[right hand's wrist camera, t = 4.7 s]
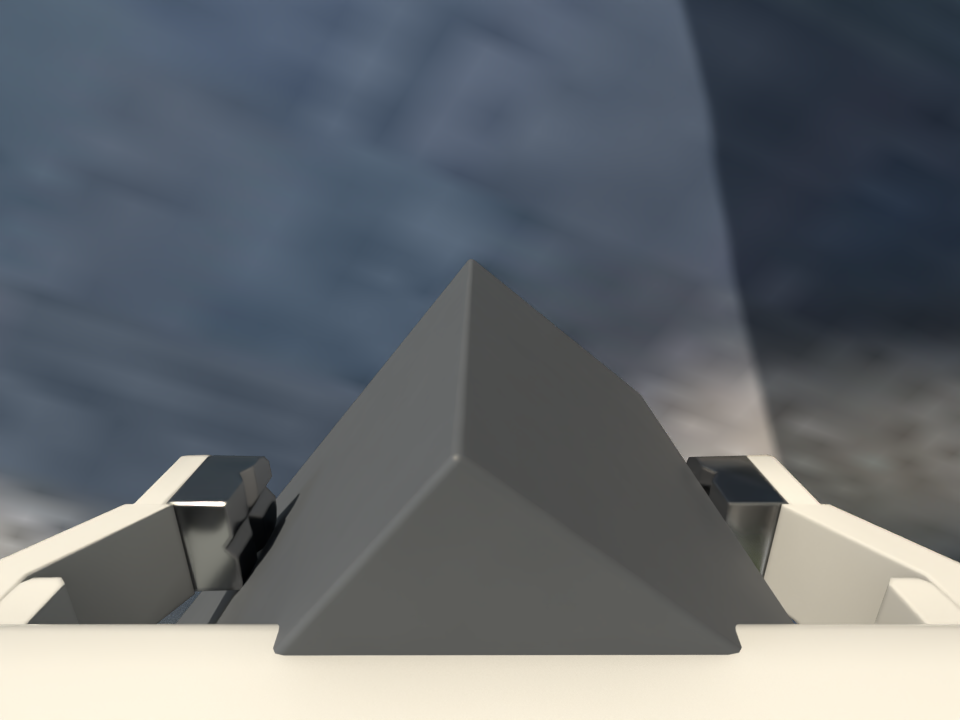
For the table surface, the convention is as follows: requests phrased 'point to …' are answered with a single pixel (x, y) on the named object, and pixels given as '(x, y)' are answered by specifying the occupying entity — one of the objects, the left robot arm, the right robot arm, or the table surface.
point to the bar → (497, 510)
